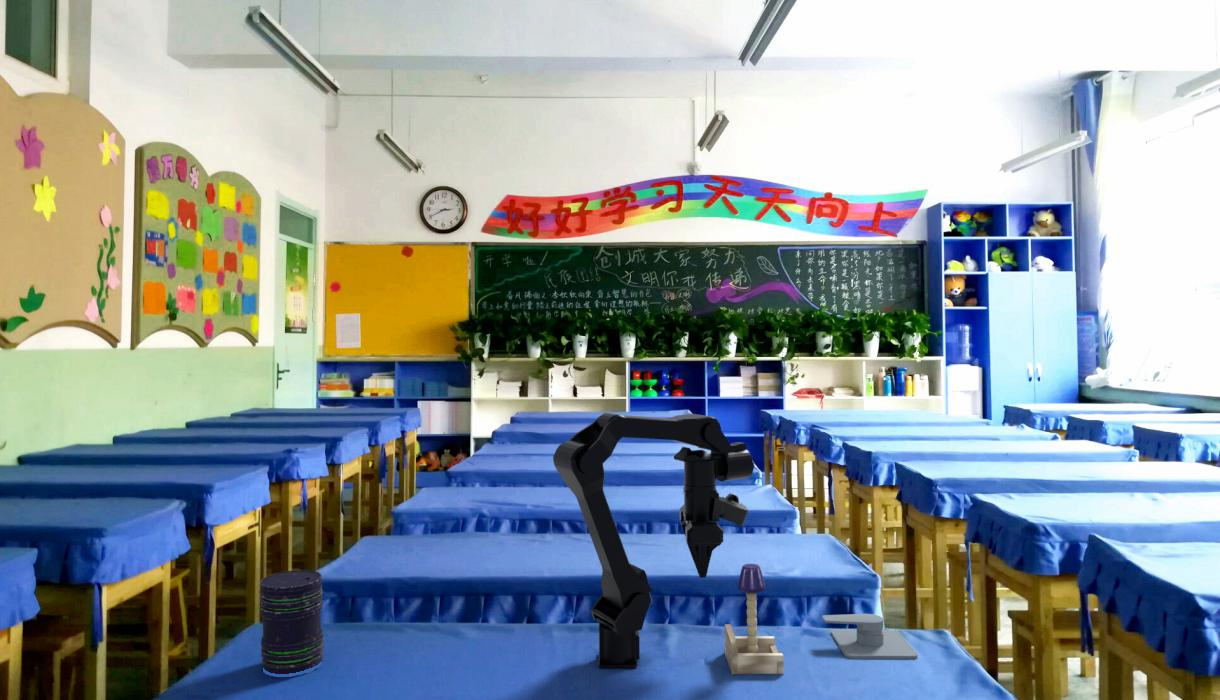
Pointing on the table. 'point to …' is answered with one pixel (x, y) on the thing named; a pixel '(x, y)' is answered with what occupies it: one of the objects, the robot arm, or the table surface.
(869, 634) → the shower valve
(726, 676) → the table surface
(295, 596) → the storage jar
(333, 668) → the table surface
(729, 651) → the birch bracket
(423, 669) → the table surface
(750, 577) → the toy lamp
